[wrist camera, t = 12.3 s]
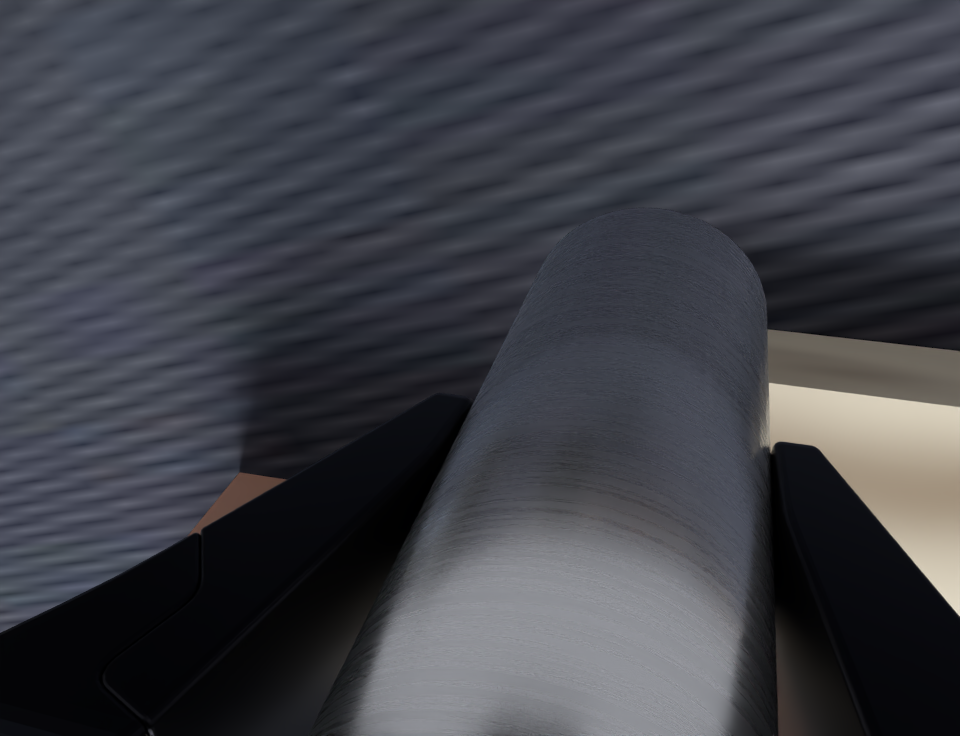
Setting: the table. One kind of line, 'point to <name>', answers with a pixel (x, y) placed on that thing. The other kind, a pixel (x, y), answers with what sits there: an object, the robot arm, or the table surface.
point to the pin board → (880, 434)
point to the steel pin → (594, 514)
